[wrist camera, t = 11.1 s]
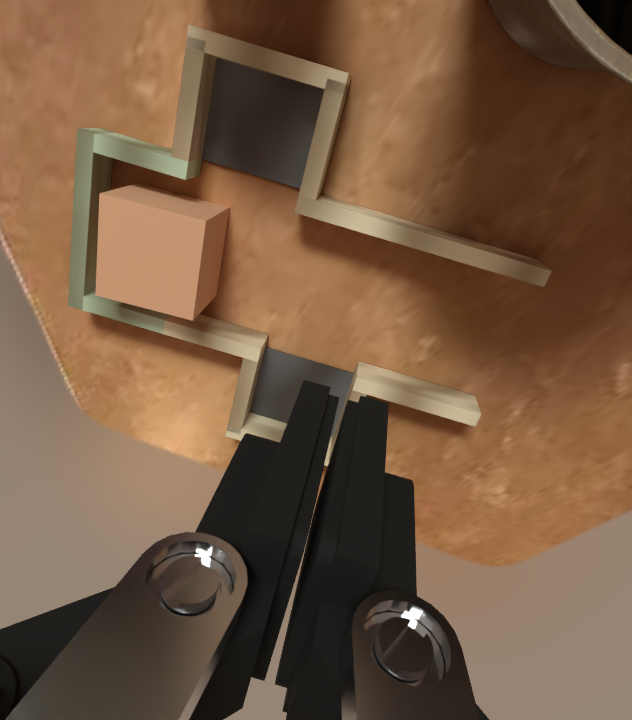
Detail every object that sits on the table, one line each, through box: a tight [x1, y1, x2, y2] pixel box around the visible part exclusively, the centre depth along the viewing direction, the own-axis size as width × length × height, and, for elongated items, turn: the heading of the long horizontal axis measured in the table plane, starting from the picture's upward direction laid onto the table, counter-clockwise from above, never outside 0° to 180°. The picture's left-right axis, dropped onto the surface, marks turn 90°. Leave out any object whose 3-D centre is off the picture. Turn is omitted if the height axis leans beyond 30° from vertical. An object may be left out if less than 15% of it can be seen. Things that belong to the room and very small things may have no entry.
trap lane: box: [68, 25, 552, 466], centre depth 33 cm, size 28×24×2 cm
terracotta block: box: [95, 183, 230, 321], centre depth 31 cm, size 6×6×5 cm
